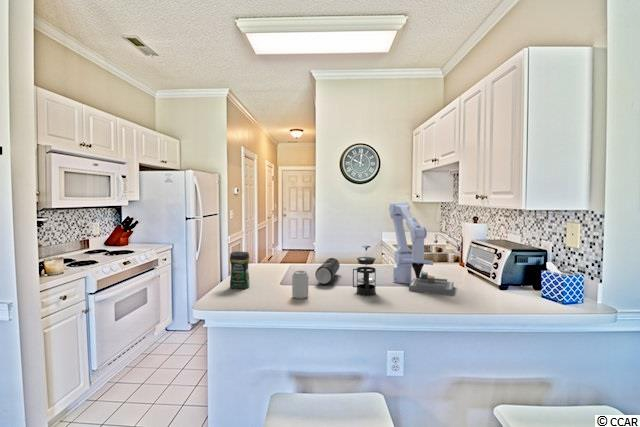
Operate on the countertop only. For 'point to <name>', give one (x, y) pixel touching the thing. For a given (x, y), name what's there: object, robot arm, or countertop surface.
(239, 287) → the coffee jar
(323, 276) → the dark thermos flask
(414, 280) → the block
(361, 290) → the french press
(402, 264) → the robot arm
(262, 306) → the countertop surface
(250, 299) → the countertop surface
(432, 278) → the breaker toggle
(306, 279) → the can
